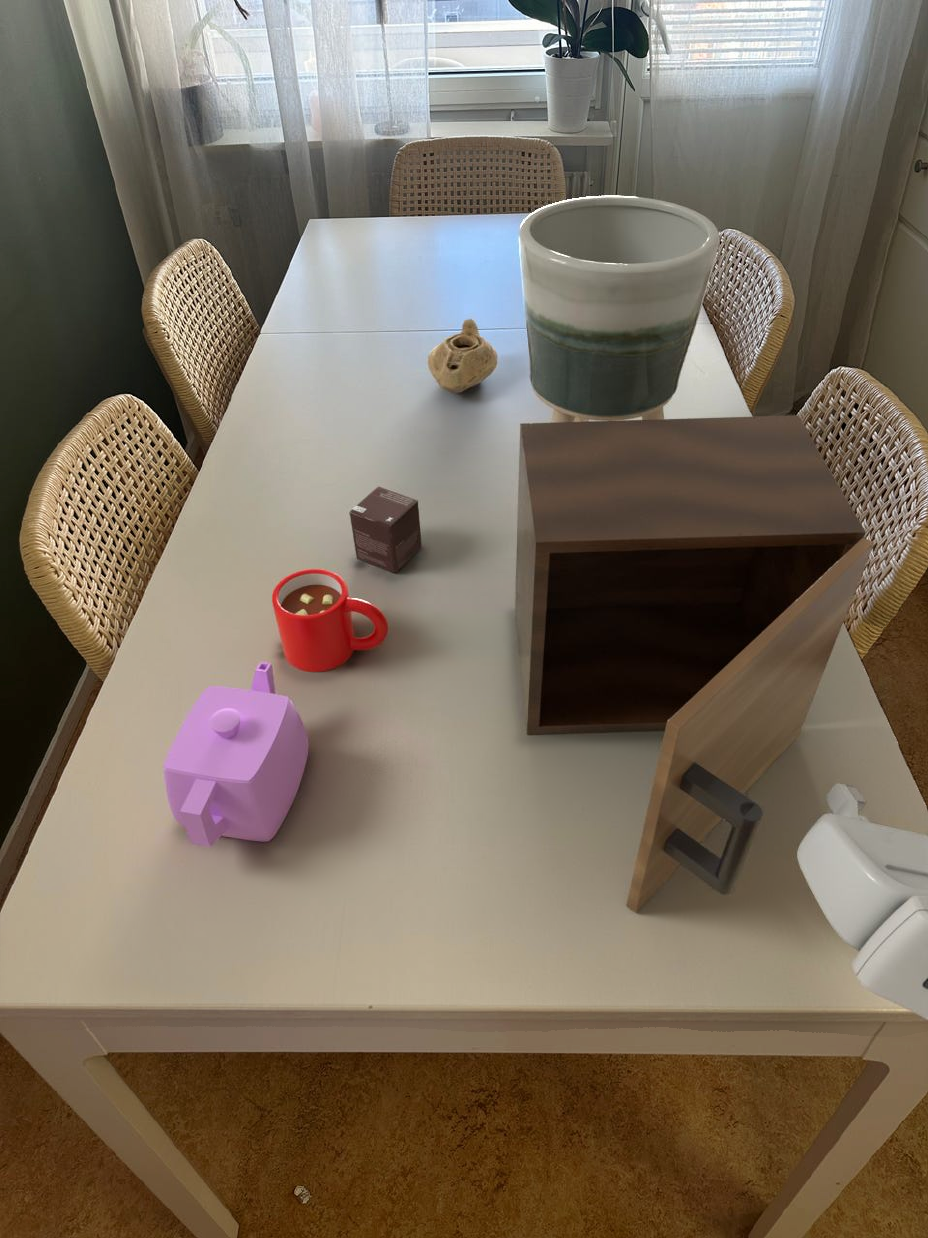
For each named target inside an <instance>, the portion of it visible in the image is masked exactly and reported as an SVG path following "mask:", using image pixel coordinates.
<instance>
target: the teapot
mask: <svg viewBox="0 0 928 1238" xmlns="http://www.w3.org/2000/svg"><path fill="white" fill-rule="evenodd" d="M306 730H307V729H306V727H305V725H304V722H303V720H302V718H301V715H300V714H299V712H298V710H297V708H296V707H295V705H294V703H293V702H292V700H291V699H290V697H289V696H286V695H281V694H277V693H276V687H275V679H274V671H273V663H272V662H266V661H259V663H258V664H257V666H256V668H255V669H254V675H253V679H252V683H251V686H250V689H244V688H239V687H238V688H236V687H231V686H230V687H229V686H222V685H209V686H207V687H206V688H205V689H204V691H203V692H202V693H201V694H200V696H199V697H198V699H197V700H196V701H195V703H194V704H193V706H192V708H191V709H190V711H189V712H188V714H187V716H186V717H185V719H183V722H182V724H181V726H180V727H179V730H178V731H177V734H176V735H175V737H174V740H173V742H172V744H171V746H170V748H169V750H168V753H167V755H166V757H165V760H164V764H163V774H164V775H163V776H164V784H165V785H164V786H165V792H166V797H167V801H168V805H169V807H170V811H171V813H172V816H173V818H174V819H175V821H176V822H177V823H178V824H179V825H180V826H182V827H183V828H185V831H186V834H187V837H188V840H189V843H190V845H195V846H200V847H206V848H211V847H212V846H213V845H214V844H215V843H216V842H217V841H218V840H219V839H220V838H221V837H225V838H231V839H239V840H245V841H252V842H253V841H254V842H262V843H263V842H269V841H271V840H272V839H273V838H274V837H275V836H276V834H277V833H278V831H279V830H280V828H281V826H282V825H283V823H284V821H285V819H286V817H287V815H288V813H289V811H290V809H291V807H292V805H293V803H294V801H295V798H296V796H297V793H298V791H299V788H300V784H301V782H302V778H303V775H304V773H305V768H306V765H307V761H308V756H309V749H310V747H309V745H310V741H309V737H308V733H307V731H306Z"/></svg>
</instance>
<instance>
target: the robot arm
mask: <svg viewBox="0 0 928 1238" xmlns="http://www.w3.org/2000/svg"><path fill="white" fill-rule="evenodd" d="M826 804H827V805H828V807H829V808H830V810H831V812H832V813H831V812H828V813H824V814H822V815H821V816H820V817H819V818H818V819H817V821H816V822H815V823H814V824H813V825H812V826H811V828H810V829H809V830H808V831H807V833H806V834H805V836H804V837H803V838H802V840H801V842H800V844H799V846H798V848H797V852H796V859H797V863H798V866H799V868H800V870H801V873H802V874H803V877H804V879H805V881H806V883H807V885H808V887H809V888H810V891H811V892H812V894H813V896H814V899H815V900H816V902H817V904H818V906H819V907H820V909H821V911H822V913H823V914H824V916H825V918H826V920H827V921H828V923H829V924H830V926H831V927H832V929H833V930H834V932H835V933H836V934H837V935H838V937H840V939H842V940H843V941H844V942H845V943H846V944H847V945H849V947H851V948H853V949H854V950H856V951H858V953H857V954H856V955H855V957H854V958H853V960H852V961H851V967H852V969H853V972H854V974H855V976H856V978H857V980H858V981H859V983H860V984H861V985H862V986H863V988H864V989H866V990H867V991H868V992H870V993H872V994H873V995H876V996H878V997H880V998H883V999H885V1000H887V1001H889V1002H891V1003H893V1004H895V1005H898V1006H900V1007H902V1008H904V1009H906V1010H908V1011H910V1012H912V1013H914V1014H916V1015H917V1016H919V1017H921V1018H923V1019H925V1020H926V1021H928V834H924V833H920V832H915V831H910V830H906V829H902V828H897V827H893V826H889V825H883V824H879V823H876V822H871V821H869V819H868V817H866V816H865V815H862V814H861V815H859V811H861V810H862V809H863V808H864V807H865V806H866V804H867V801H866V798H865V797H864V796H863V795H862V794H861V793H860V790H859V788H857V787H855V786H852V785H848V784H844V783H840V782H838V783H834V785H833V786H832V788H831V789H830V790H829V792H828V793H827V794H826Z"/></svg>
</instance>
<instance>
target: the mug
mask: <svg viewBox="0 0 928 1238" xmlns="http://www.w3.org/2000/svg"><path fill="white" fill-rule="evenodd" d="M349 595H350V594H349V590H348V585H347V583H346V581H345V580H344V579H343V578H342V577H341V576H340V575H339V574H338V573H335V572H333V571H330V570H327V569H322V568H321V569H320V568H310V569H309V568H308V569H302V570H299V571H296V572H293V573H291V574H289V575H287V576H285V577H284V578H283V579H281V580H280V581H279V582H278V583H277V584H276V586H275V587H274V589H273V591H272V595H271V603H272V607H273V612H274V616H275V620H276V624H277V629H278V633H279V637H280V642H281V646H282V650H283V655H284V657H285V660H287V661H286V662H287V663H289V664H290V665H291V666H292V667H294V668H296V669H298V670H300V671H303V672H309V673H320V672H321V673H322V672H326V671H331V670H333V669H336V668H338V667H340V666H341V665H343V664H344V663H346V662H347V661H348V660H349V659H350V658H351V657H352V655H353V654H354V651H368V650H371V649H375V648H377V647H378V646H380V645H381V644H382V643H384V642H385V640H386V638H387V636H388V634H389V623H388V620H387V617H386V615H385V614H384V612H382V611H381V609H379V607H377V606H376V605H375V604H373V603H371V602H369V601H367V600H364V599H361V598H355V597H350V596H349ZM352 612H353V613H357V614H361V615H363V616H364V617H367V618H368V619H369V620H370V621H371V622H372V624H373V626H374V630H373V632H372V633H371V634H368V635H367V636H360V637H359V636H356V635H355V630H354V624H353V617H352V616H353V615H352Z"/></svg>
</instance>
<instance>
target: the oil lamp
mask: <svg viewBox="0 0 928 1238" xmlns="http://www.w3.org/2000/svg"><path fill="white" fill-rule="evenodd" d="M461 326H462V329H461V332H458V333H455V334H452V335H451V336H450V335H449V336H448V337H445V338H444V339H443V341H441V342H440V343H439V344H437V345H436V346H435V347H434V348H432V349H431V350H430V352H429V354H428V356H427V366H428V370H429V372H430V374H431V376H432V377H433V378H434V380H435V381H436V383H437V384H438V385H439V387H441V388H442V389H443V390H445V391H447V392H450V393H455V394H459V393H462V392H464V391H466V390H467V389H469V388H473V387H476V386H477V385H479V384H480V383H482V382H483V381H485V380H486V379H487V378H488V377H489V376H490V375H492V374H493V373H494V372H495V369H496V368H497V366H498V352H497V350H496V349H495V348H494V347H493V346H492V345H491V344H490V343H489V342H488V341H487V340H485V338H484V337H483V336H481V335H480V333H479V328H478V325H477V324H476V321H475V320H474V319H473V318H468V319H465V320H464V321H463V322H462V325H461Z"/></svg>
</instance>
